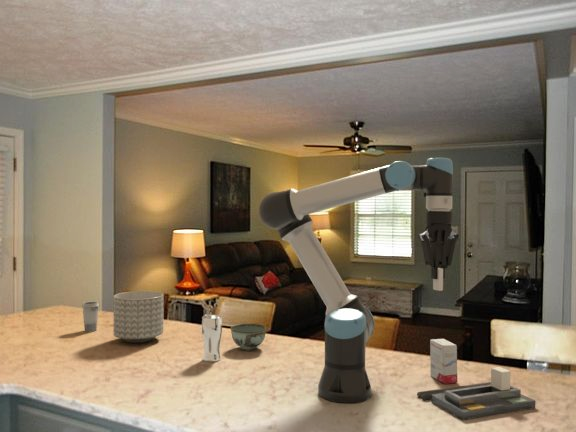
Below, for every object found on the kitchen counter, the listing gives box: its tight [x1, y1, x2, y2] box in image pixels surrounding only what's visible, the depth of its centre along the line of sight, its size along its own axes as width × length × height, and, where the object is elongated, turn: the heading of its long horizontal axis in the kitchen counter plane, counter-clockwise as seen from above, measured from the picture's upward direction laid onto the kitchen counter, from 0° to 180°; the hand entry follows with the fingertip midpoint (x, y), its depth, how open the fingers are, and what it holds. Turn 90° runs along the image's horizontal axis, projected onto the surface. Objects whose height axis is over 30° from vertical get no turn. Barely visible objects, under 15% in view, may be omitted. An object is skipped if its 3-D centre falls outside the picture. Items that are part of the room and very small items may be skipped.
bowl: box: [230, 323, 267, 352], centre depth 194 cm, size 14×13×8 cm
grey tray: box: [430, 384, 536, 421], centre depth 141 cm, size 24×13×4 cm, turn 111°
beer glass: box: [201, 314, 223, 363], centre depth 180 cm, size 7×7×15 cm
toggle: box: [490, 366, 511, 392], centre depth 143 cm, size 4×4×7 cm
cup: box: [81, 300, 100, 333], centre depth 219 cm, size 7×7×12 cm
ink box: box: [429, 338, 458, 385], centre depth 161 cm, size 9×5×12 cm, turn 13°
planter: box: [113, 290, 165, 344], centre depth 204 cm, size 19×19×18 cm
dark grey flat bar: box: [416, 381, 491, 401], centre depth 150 cm, size 27×4×1 cm, turn 111°
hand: (437, 289), depth 153 cm, fingers closed
